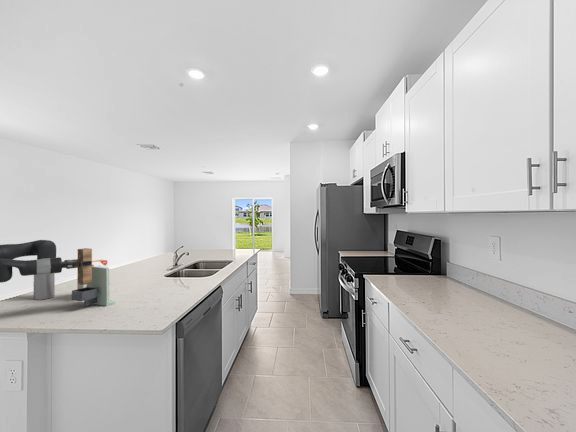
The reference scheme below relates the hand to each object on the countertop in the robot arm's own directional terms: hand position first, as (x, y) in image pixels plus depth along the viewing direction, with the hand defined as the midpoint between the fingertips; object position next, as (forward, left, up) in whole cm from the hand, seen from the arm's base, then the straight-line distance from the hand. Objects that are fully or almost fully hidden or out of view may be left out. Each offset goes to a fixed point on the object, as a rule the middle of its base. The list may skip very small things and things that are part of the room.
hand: (90, 262), depth 153 cm
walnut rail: (-1, -2, -11) cm, 11 cm away
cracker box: (-16, +12, -24) cm, 31 cm away
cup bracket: (-1, +1, -23) cm, 24 cm away
